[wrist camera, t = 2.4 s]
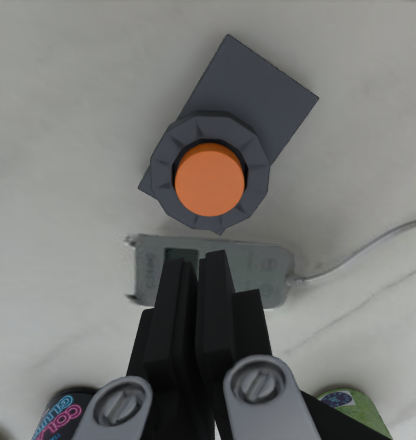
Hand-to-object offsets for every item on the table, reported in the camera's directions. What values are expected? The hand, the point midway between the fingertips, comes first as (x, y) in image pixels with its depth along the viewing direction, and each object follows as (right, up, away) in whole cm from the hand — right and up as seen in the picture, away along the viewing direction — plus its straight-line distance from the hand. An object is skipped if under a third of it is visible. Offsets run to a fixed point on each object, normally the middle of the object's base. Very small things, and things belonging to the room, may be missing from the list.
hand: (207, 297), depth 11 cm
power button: (0, +5, +10) cm, 11 cm away
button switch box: (+1, +7, +13) cm, 15 cm away
